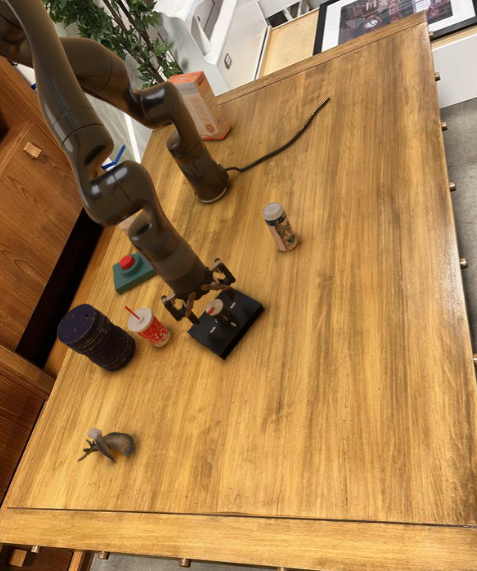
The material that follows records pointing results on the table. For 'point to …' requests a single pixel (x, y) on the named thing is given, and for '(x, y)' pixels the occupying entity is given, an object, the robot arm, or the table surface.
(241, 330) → the control panel
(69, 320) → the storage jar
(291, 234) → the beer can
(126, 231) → the candle
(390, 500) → the table surface
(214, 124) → the cracker box
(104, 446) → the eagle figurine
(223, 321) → the dial
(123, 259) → the button
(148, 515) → the table surface
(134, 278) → the button block
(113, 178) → the robot arm
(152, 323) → the beverage cup
